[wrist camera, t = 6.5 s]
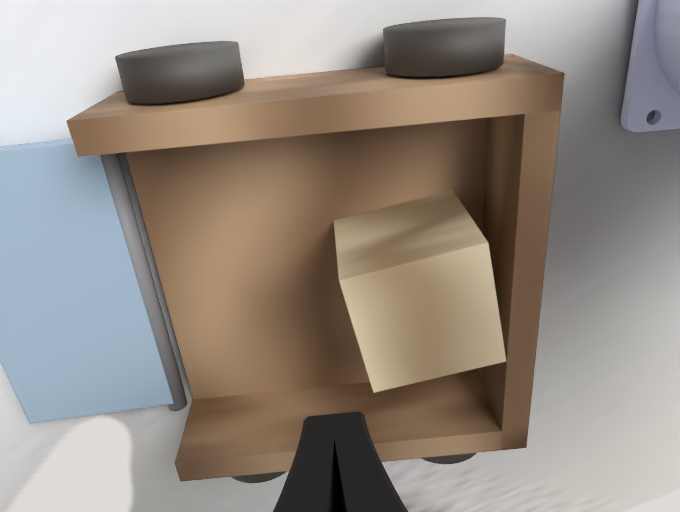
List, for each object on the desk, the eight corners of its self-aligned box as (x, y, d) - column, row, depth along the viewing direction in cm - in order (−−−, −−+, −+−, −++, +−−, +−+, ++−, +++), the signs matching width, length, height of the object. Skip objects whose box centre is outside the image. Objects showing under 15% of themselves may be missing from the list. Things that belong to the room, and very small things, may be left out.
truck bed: (514, 12, 18) (569, 20, 14) (491, 397, 25) (523, 471, 22) (107, 51, 18) (50, 70, 14) (206, 424, 25) (187, 504, 21)
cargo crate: (452, 189, 20) (488, 242, 16) (470, 291, 22) (506, 361, 18) (333, 220, 20) (338, 280, 16) (362, 318, 22) (373, 392, 18)
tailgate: (103, 124, 18) (-100, 147, 17) (185, 410, 23) (33, 432, 23) (113, 116, 19) (-78, 137, 18) (189, 392, 24) (44, 412, 24)
